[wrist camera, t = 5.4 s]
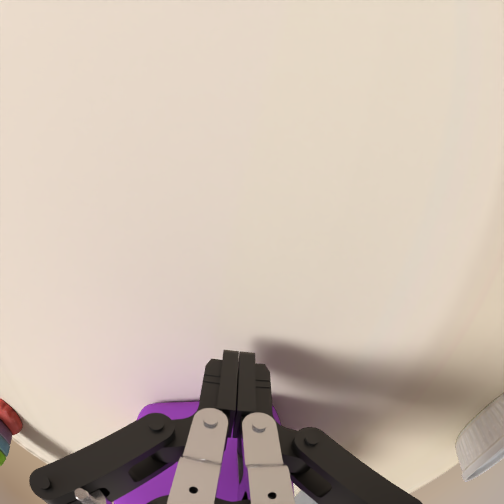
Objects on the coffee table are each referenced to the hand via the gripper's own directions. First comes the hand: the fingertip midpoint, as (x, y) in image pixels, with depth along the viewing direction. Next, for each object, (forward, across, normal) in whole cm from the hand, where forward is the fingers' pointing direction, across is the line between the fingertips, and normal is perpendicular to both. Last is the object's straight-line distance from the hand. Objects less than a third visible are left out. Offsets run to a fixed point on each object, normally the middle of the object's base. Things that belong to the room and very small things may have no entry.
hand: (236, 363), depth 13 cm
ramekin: (+2, -34, +14) cm, 37 cm away
